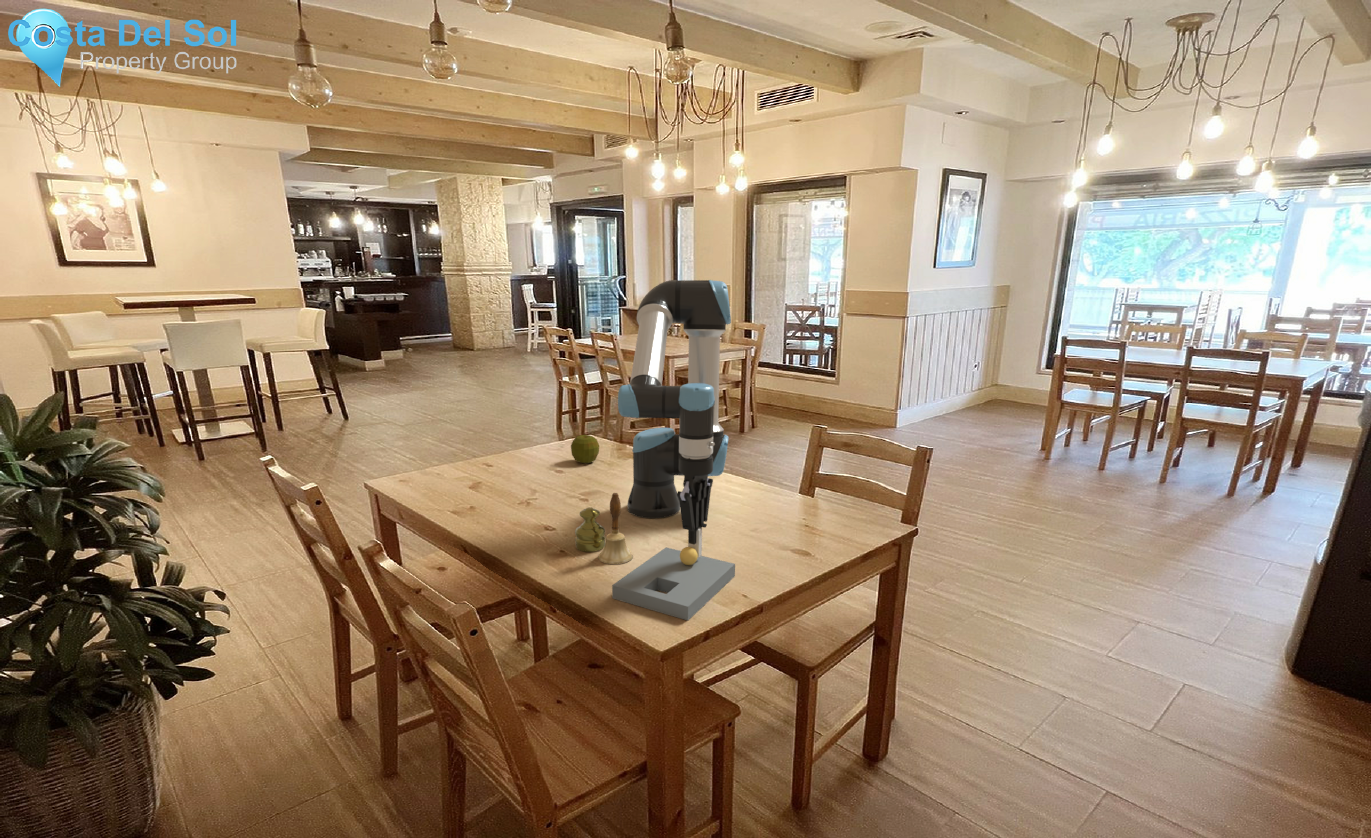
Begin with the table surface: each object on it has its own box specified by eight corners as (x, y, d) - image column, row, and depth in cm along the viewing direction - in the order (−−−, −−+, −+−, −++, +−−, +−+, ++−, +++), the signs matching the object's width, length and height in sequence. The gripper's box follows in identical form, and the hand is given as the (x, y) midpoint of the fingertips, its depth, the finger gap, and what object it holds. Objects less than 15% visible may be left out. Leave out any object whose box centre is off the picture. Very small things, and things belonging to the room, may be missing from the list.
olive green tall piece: (592, 555, 156) (591, 516, 154) (569, 548, 160) (567, 509, 157) (611, 544, 162) (610, 506, 160) (588, 538, 166) (587, 501, 163)
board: (612, 598, 135) (612, 585, 134) (666, 559, 154) (666, 547, 153) (688, 620, 127) (688, 606, 126) (734, 576, 145) (735, 563, 145)
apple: (567, 465, 228) (566, 435, 226) (576, 458, 237) (575, 428, 235) (594, 467, 226) (594, 436, 224) (602, 459, 236) (602, 430, 233)
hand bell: (599, 550, 158) (597, 488, 155) (633, 549, 159) (632, 487, 156) (597, 565, 150) (595, 500, 147) (633, 564, 151) (632, 499, 148)
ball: (682, 563, 146) (674, 562, 143) (686, 545, 147) (678, 544, 143) (698, 567, 144) (691, 566, 141) (702, 549, 145) (694, 548, 142)
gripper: (697, 464, 134) (696, 569, 139) (724, 450, 145) (722, 548, 150) (666, 459, 138) (666, 562, 143) (694, 445, 149) (693, 541, 154)
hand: (694, 555), depth 146 cm, fingers closed
